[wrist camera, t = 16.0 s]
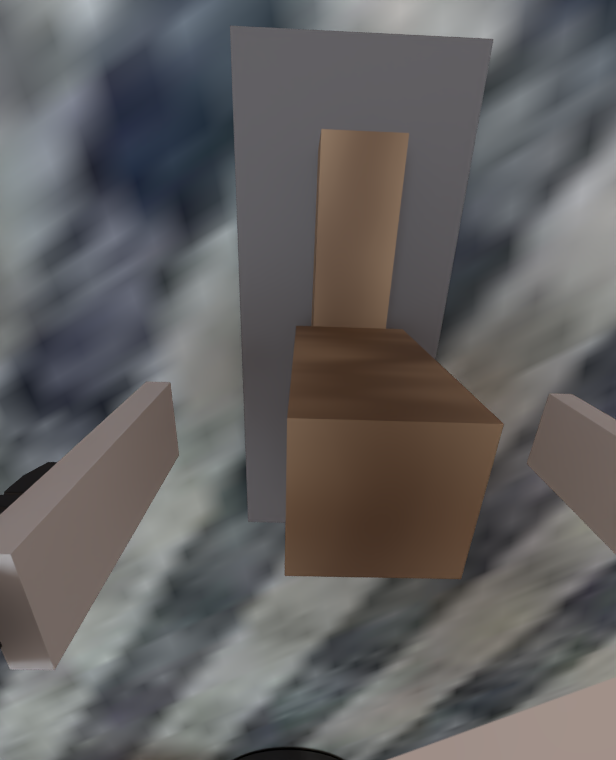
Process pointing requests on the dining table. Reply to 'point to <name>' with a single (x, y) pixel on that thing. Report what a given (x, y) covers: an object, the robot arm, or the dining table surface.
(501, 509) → the dining table surface
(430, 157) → the rubber mat
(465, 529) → the walnut pusher
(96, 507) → the robot arm
